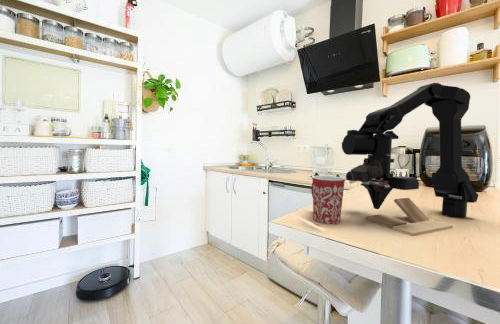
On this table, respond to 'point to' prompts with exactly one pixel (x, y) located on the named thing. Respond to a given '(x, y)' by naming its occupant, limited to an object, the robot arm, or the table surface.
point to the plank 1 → (385, 220)
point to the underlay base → (422, 227)
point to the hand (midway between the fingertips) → (376, 208)
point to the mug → (327, 198)
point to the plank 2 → (411, 210)
